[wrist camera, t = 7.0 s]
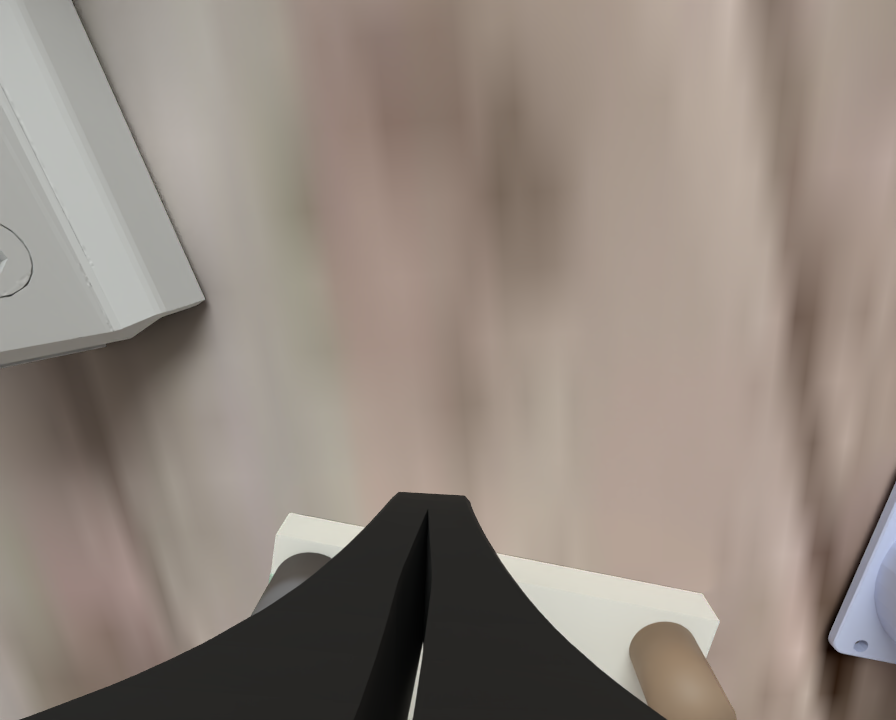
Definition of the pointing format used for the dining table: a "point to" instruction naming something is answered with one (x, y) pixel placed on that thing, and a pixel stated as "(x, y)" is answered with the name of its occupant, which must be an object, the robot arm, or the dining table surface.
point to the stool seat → (590, 623)
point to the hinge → (74, 199)
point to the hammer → (291, 576)
